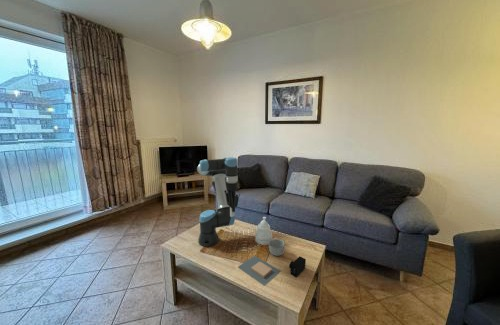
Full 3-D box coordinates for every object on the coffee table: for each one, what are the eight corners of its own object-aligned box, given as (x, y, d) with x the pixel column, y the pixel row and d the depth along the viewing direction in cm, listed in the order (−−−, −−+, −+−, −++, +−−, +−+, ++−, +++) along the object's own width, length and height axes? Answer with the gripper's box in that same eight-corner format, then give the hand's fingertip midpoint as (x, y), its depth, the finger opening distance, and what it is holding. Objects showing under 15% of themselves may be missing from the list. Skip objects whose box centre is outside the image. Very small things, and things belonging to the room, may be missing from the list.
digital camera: (297, 264, 133) (298, 255, 132) (305, 268, 129) (305, 258, 128) (288, 273, 126) (288, 262, 124) (296, 277, 122) (296, 267, 121)
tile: (251, 267, 127) (263, 275, 120) (259, 261, 133) (272, 268, 126) (251, 270, 128) (263, 278, 121) (259, 263, 133) (272, 271, 126)
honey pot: (256, 235, 168) (257, 214, 165) (272, 236, 165) (273, 215, 162) (253, 244, 156) (254, 221, 152) (271, 246, 153) (271, 223, 150)
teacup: (283, 259, 138) (284, 248, 137) (267, 257, 140) (267, 246, 139) (284, 247, 152) (285, 237, 150) (269, 245, 154) (270, 235, 152)
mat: (237, 267, 130) (237, 267, 130) (254, 256, 142) (254, 255, 141) (264, 286, 115) (264, 285, 115) (281, 271, 127) (281, 271, 127)
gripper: (220, 181, 135) (221, 214, 140) (234, 185, 126) (234, 221, 131) (229, 178, 141) (230, 211, 145) (243, 182, 132) (243, 217, 136)
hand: (232, 216), depth 138 cm, fingers closed
